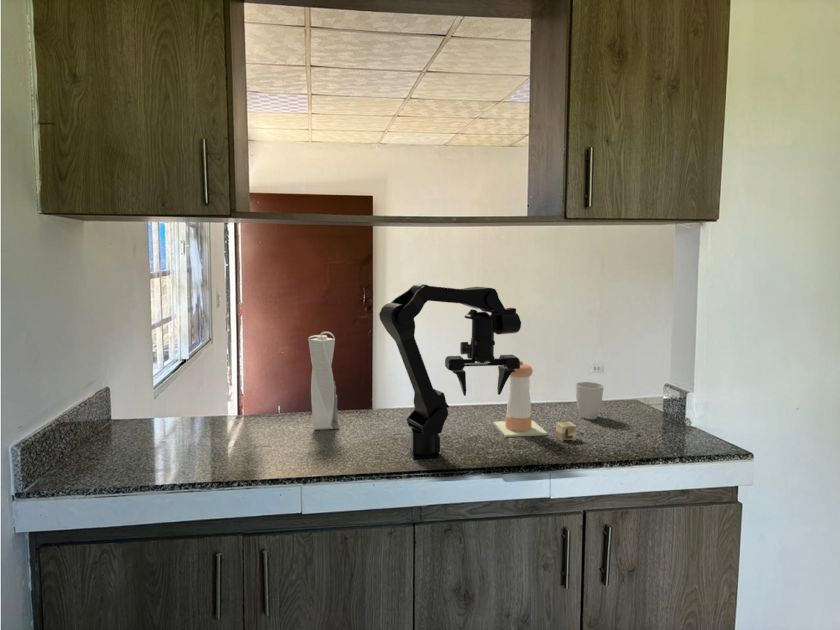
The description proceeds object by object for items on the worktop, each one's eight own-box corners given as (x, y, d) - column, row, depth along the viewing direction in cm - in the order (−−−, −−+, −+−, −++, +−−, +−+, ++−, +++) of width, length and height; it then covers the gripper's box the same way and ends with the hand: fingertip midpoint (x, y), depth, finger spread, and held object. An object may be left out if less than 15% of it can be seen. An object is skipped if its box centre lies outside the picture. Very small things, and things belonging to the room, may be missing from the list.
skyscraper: (339, 431, 156) (338, 332, 153) (310, 432, 155) (308, 332, 152) (337, 422, 165) (336, 327, 162) (309, 423, 163) (308, 328, 160)
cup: (590, 412, 177) (591, 381, 176) (607, 419, 169) (609, 387, 168) (569, 414, 174) (570, 383, 173) (585, 422, 166) (587, 389, 165)
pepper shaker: (500, 426, 160) (501, 360, 158) (519, 422, 164) (521, 357, 162) (516, 433, 154) (518, 364, 152) (536, 429, 157) (538, 362, 155)
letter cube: (561, 441, 149) (562, 427, 149) (555, 436, 153) (556, 422, 153) (576, 440, 150) (576, 426, 150) (569, 435, 154) (570, 421, 154)
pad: (505, 436, 152) (505, 434, 152) (493, 423, 164) (493, 421, 164) (547, 435, 154) (547, 433, 154) (532, 422, 166) (532, 420, 166)
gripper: (508, 330, 153) (507, 386, 155) (441, 331, 151) (440, 388, 152) (521, 336, 142) (520, 396, 144) (449, 338, 140) (449, 399, 141)
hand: (481, 394), depth 146 cm, fingers open, 9 cm apart
